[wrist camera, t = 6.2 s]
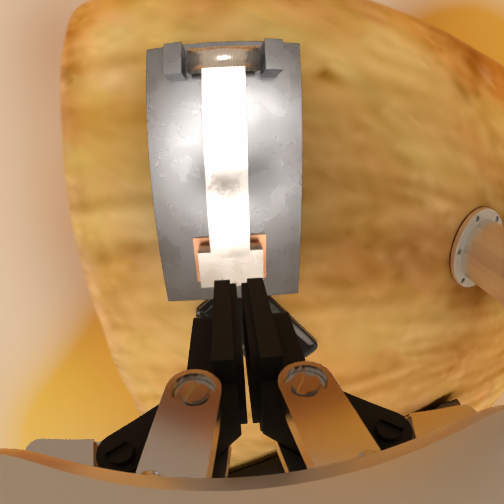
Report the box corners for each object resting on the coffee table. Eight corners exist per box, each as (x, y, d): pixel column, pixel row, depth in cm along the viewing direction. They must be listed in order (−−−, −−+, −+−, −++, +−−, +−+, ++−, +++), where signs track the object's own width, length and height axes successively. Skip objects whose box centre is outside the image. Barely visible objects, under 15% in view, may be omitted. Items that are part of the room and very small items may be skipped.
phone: (243, 273, 30) (320, 346, 35) (242, 268, 31) (318, 341, 36) (191, 315, 32) (273, 378, 37) (192, 310, 33) (272, 372, 38)
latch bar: (189, 53, 17) (186, 45, 15) (256, 50, 18) (259, 42, 16) (202, 278, 24) (201, 290, 23) (261, 275, 25) (264, 286, 23)
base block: (159, 63, 22) (136, 39, 14) (286, 58, 23) (309, 32, 15) (175, 276, 30) (163, 320, 23) (286, 269, 31) (305, 310, 24)
